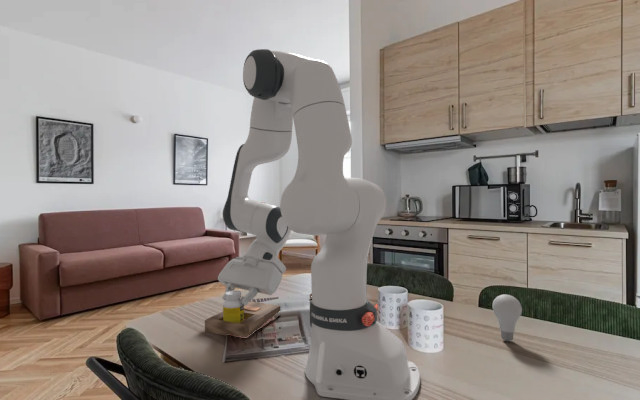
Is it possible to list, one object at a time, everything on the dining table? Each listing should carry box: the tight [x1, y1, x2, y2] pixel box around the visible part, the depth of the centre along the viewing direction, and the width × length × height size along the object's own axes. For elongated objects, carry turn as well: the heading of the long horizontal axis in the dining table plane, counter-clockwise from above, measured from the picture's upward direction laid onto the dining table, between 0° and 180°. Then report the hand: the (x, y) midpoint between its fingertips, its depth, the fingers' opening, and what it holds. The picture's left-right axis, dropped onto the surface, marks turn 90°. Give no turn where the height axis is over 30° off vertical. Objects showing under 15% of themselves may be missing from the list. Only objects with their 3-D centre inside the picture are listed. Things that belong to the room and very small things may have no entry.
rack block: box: [204, 300, 282, 337], centre depth 93 cm, size 13×17×3 cm
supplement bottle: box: [222, 290, 244, 323], centre depth 90 cm, size 5×5×10 cm
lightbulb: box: [491, 294, 523, 342], centre depth 79 cm, size 6×6×11 cm
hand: (233, 302), depth 90 cm, fingers closed on supplement bottle, 5 cm apart
